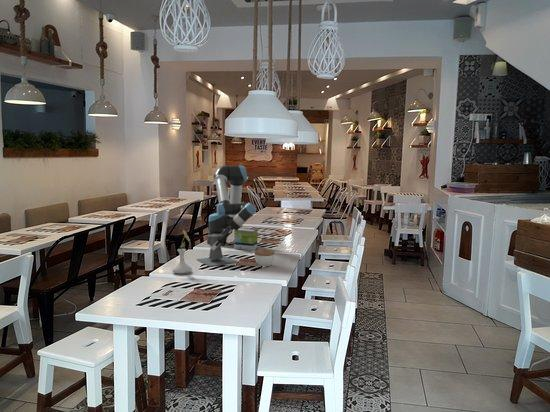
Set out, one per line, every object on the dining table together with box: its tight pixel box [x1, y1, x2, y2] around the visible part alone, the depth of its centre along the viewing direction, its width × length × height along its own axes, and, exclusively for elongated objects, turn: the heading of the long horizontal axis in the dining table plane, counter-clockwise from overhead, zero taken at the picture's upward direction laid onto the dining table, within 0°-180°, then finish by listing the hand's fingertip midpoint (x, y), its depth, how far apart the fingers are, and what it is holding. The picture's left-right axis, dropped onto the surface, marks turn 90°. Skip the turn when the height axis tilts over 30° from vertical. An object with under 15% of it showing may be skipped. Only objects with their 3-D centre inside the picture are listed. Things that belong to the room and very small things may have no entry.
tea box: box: [233, 227, 258, 251], centre depth 319 cm, size 15×10×15 cm, turn 73°
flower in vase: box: [171, 229, 193, 275], centre depth 255 cm, size 13×11×25 cm
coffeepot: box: [205, 231, 228, 260], centre depth 282 cm, size 15×9×18 cm, turn 126°
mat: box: [196, 254, 239, 268], centre depth 283 cm, size 20×20×1 cm
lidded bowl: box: [254, 248, 275, 267], centre depth 272 cm, size 13×13×11 cm
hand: (211, 247), depth 281 cm, fingers closed on coffeepot, 8 cm apart
